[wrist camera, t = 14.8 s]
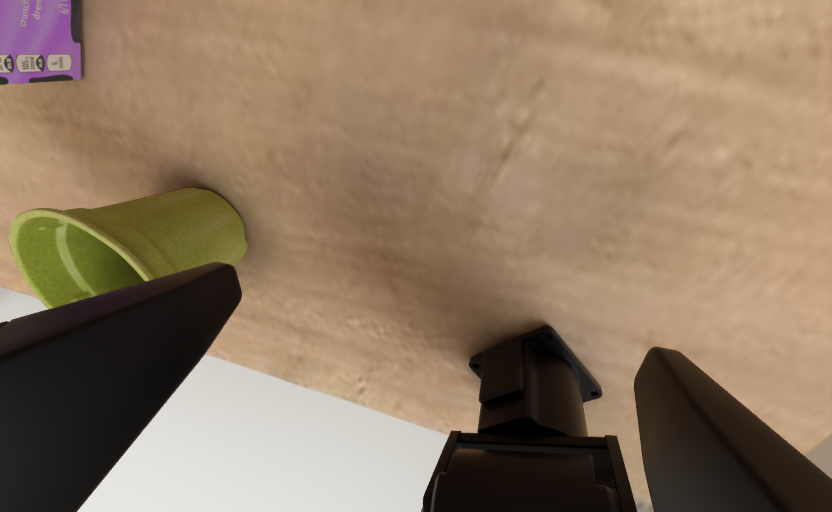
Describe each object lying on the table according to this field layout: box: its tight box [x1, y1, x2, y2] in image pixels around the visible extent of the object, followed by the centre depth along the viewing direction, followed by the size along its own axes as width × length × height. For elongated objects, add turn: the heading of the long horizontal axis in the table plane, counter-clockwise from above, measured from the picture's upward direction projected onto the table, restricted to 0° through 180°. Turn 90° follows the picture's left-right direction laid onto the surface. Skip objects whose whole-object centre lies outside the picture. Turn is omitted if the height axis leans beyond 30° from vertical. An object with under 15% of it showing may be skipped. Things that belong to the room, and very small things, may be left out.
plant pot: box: [9, 187, 248, 309], centre depth 22 cm, size 9×9×9 cm
